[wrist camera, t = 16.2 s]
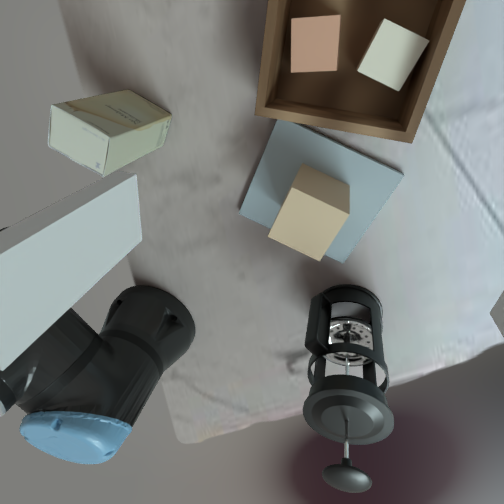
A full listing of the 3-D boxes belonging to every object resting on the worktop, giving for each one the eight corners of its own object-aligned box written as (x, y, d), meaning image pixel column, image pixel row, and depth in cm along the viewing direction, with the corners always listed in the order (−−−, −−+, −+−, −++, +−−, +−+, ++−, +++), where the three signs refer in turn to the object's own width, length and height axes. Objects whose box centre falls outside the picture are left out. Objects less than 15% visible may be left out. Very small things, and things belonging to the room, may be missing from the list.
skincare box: (173, 114, 40) (113, 137, 30) (163, 147, 42) (104, 179, 32) (126, 87, 39) (49, 101, 29) (118, 122, 42) (45, 146, 32)
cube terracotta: (296, 69, 33) (290, 72, 30) (297, 21, 31) (291, 18, 28) (337, 68, 32) (336, 70, 29) (341, 18, 30) (340, 14, 27)
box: (269, 104, 36) (254, 115, 31) (289, -40, 30) (275, -61, 24) (401, 127, 34) (412, 143, 29) (453, -22, 28) (481, -40, 22)
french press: (399, 320, 47) (434, 508, 28) (345, 346, 52) (342, 521, 33) (345, 264, 44) (342, 428, 25) (293, 297, 49) (258, 455, 30)
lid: (241, 209, 44) (218, 243, 37) (280, 114, 37) (262, 131, 29) (343, 258, 44) (341, 302, 37) (402, 172, 37) (416, 204, 29)
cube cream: (356, 68, 32) (357, 71, 29) (380, 21, 30) (384, 18, 27) (393, 86, 32) (398, 91, 29) (420, 41, 30) (429, 40, 27)
